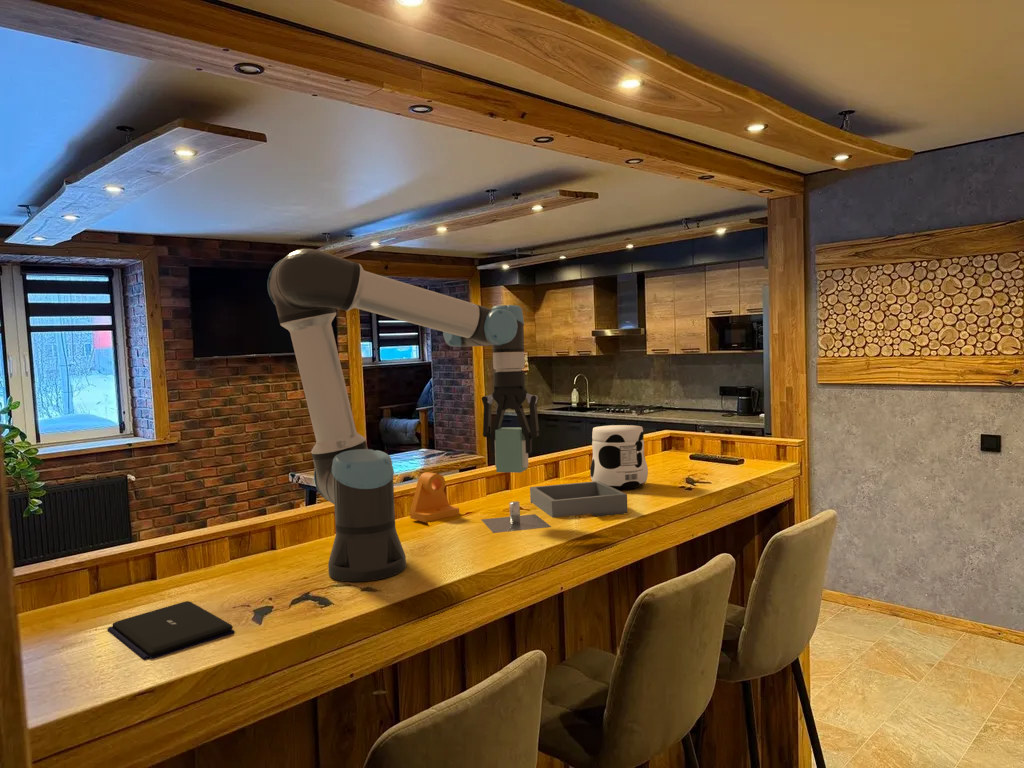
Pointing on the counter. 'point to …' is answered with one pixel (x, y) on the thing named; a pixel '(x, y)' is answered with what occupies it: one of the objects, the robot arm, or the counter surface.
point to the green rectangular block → (509, 449)
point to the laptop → (169, 630)
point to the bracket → (431, 499)
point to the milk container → (619, 456)
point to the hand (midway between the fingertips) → (511, 466)
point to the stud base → (515, 527)
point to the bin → (579, 499)
